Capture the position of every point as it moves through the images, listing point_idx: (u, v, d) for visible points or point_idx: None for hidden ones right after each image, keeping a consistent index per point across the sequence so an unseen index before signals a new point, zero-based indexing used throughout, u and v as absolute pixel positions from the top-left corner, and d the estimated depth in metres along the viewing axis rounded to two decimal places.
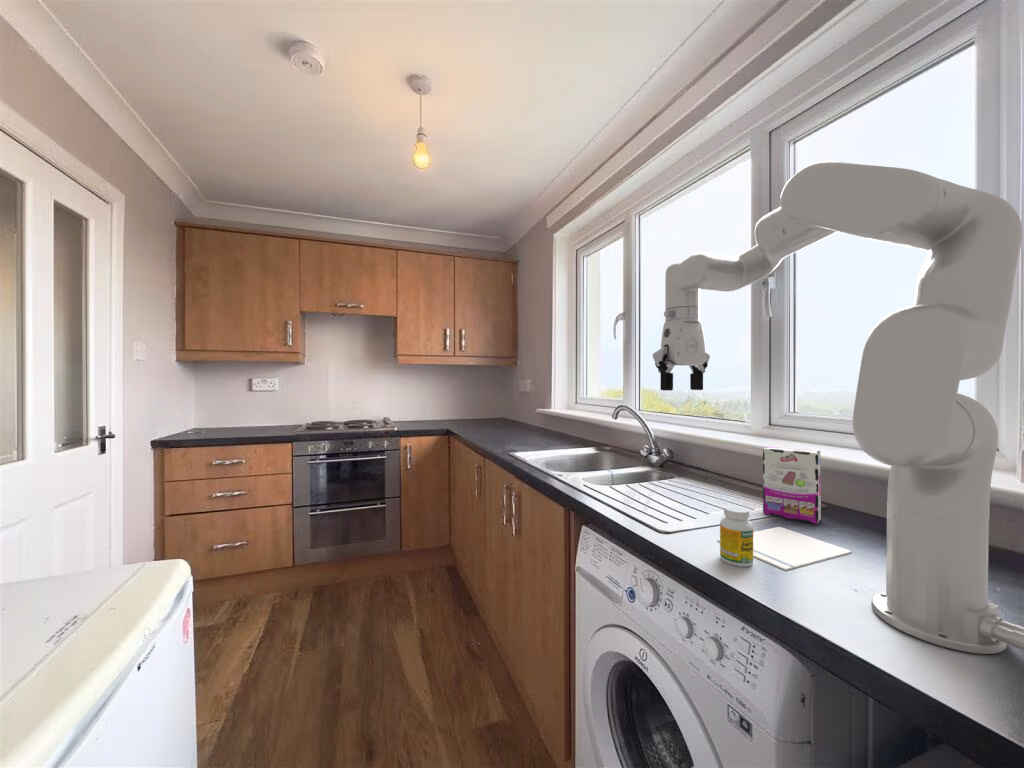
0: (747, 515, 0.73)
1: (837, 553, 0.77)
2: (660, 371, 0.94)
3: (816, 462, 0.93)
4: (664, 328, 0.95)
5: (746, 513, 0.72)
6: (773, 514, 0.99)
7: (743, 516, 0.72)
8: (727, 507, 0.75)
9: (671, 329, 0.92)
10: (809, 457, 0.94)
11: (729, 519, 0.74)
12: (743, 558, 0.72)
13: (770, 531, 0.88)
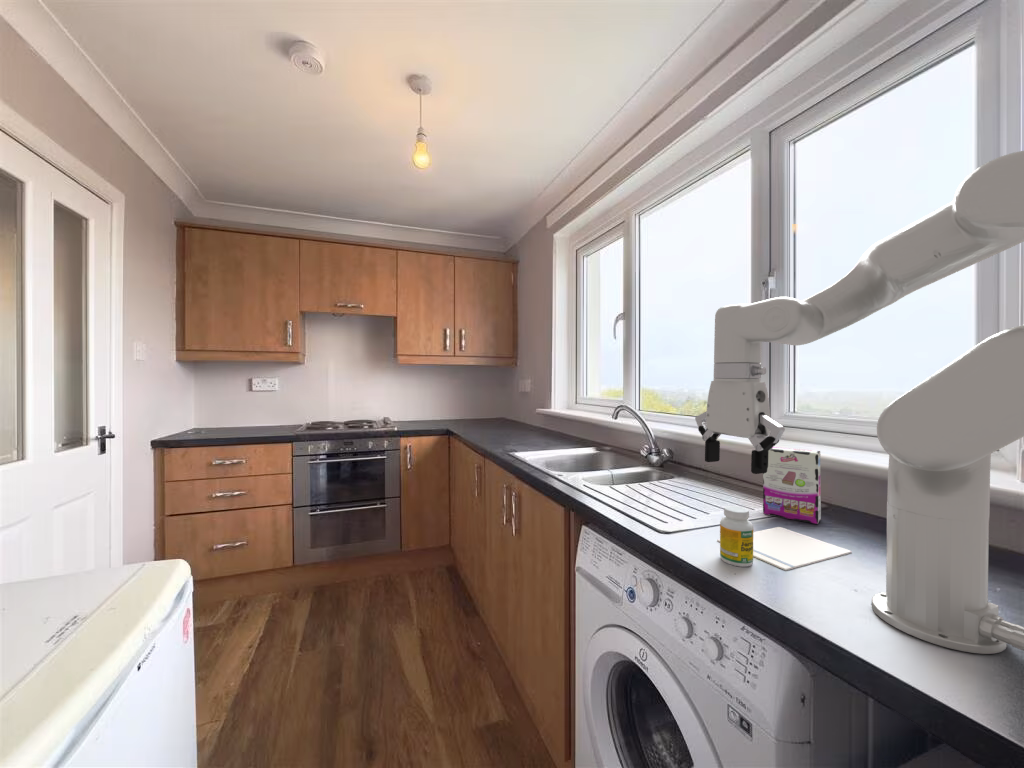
0: (747, 515, 0.73)
1: (837, 553, 0.77)
2: (764, 449, 0.69)
3: (816, 462, 0.93)
4: (754, 389, 0.70)
5: (746, 513, 0.72)
6: (773, 514, 0.99)
7: (743, 516, 0.72)
8: (727, 507, 0.75)
9: (765, 392, 0.70)
10: (809, 457, 0.94)
11: (729, 519, 0.74)
12: (743, 558, 0.72)
13: (770, 531, 0.88)
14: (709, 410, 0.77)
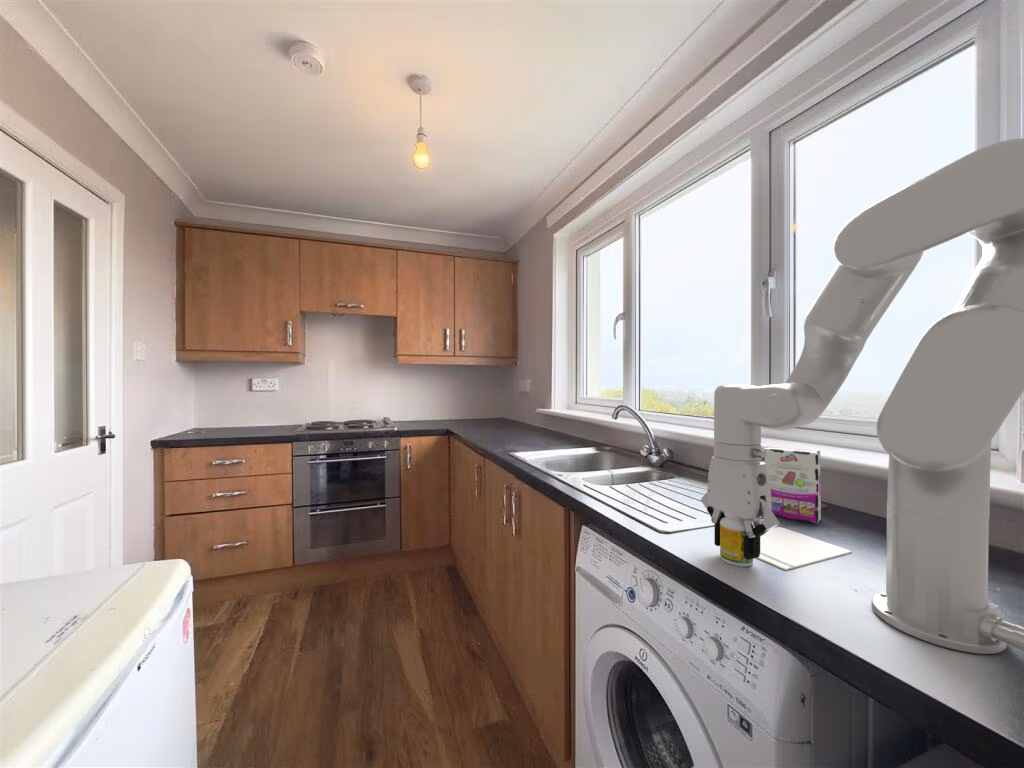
0: None
1: (837, 553, 0.77)
2: (756, 536, 0.70)
3: (816, 462, 0.93)
4: (755, 472, 0.70)
5: None
6: None
7: None
8: None
9: (766, 474, 0.70)
10: (809, 457, 0.94)
11: (729, 519, 0.74)
12: (743, 558, 0.72)
13: (770, 531, 0.88)
14: (710, 487, 0.77)
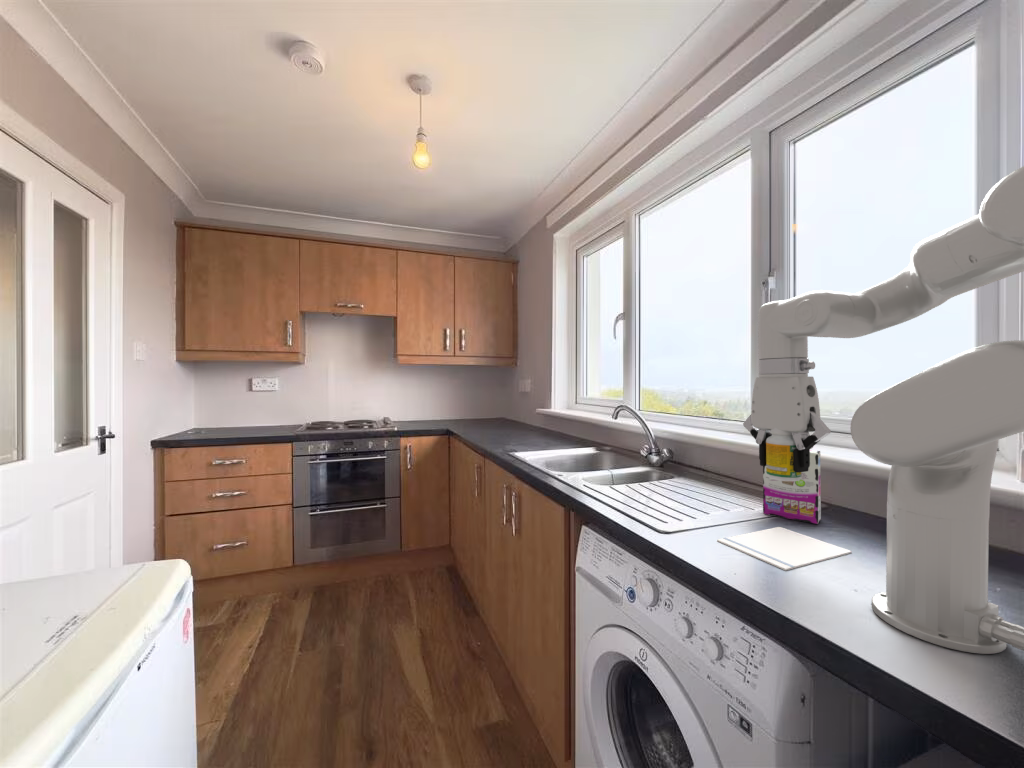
0: None
1: (837, 553, 0.77)
2: (806, 448, 0.70)
3: (816, 462, 0.93)
4: (804, 384, 0.70)
5: None
6: (773, 514, 0.99)
7: None
8: None
9: (814, 387, 0.71)
10: None
11: (776, 435, 0.74)
12: (792, 472, 0.72)
13: (770, 531, 0.88)
14: (755, 407, 0.77)
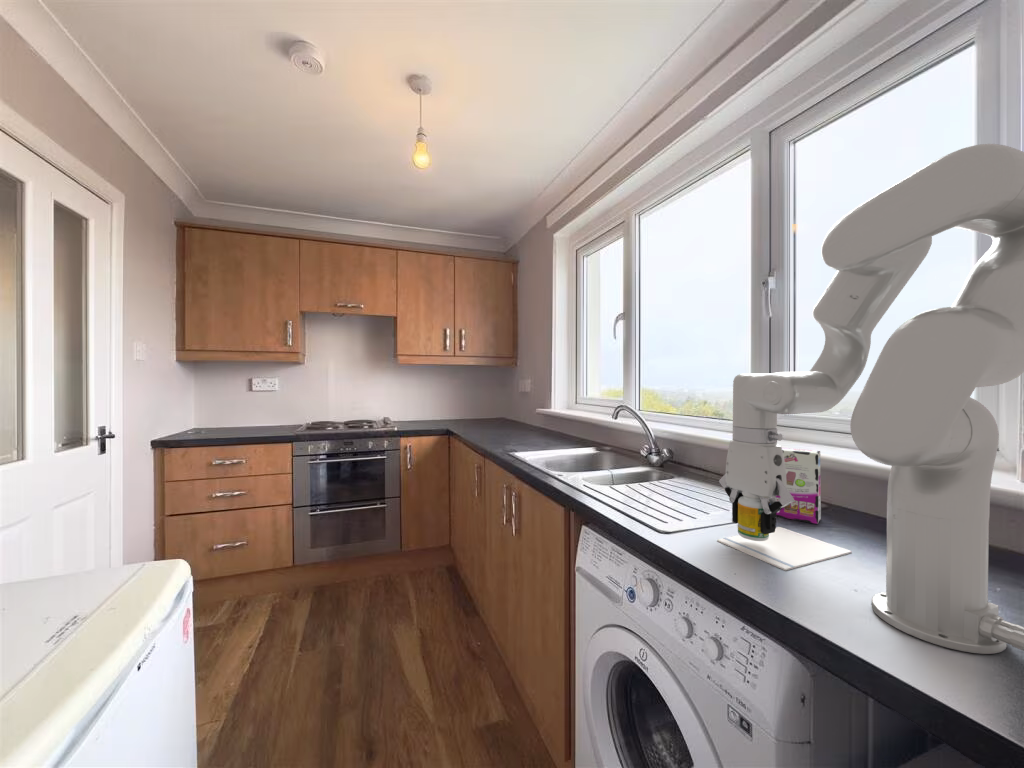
0: None
1: (837, 553, 0.77)
2: (772, 512, 0.76)
3: (816, 462, 0.93)
4: (772, 454, 0.76)
5: None
6: None
7: None
8: None
9: (781, 456, 0.76)
10: (809, 457, 0.94)
11: (747, 497, 0.80)
12: (760, 533, 0.78)
13: None
14: (729, 468, 0.83)
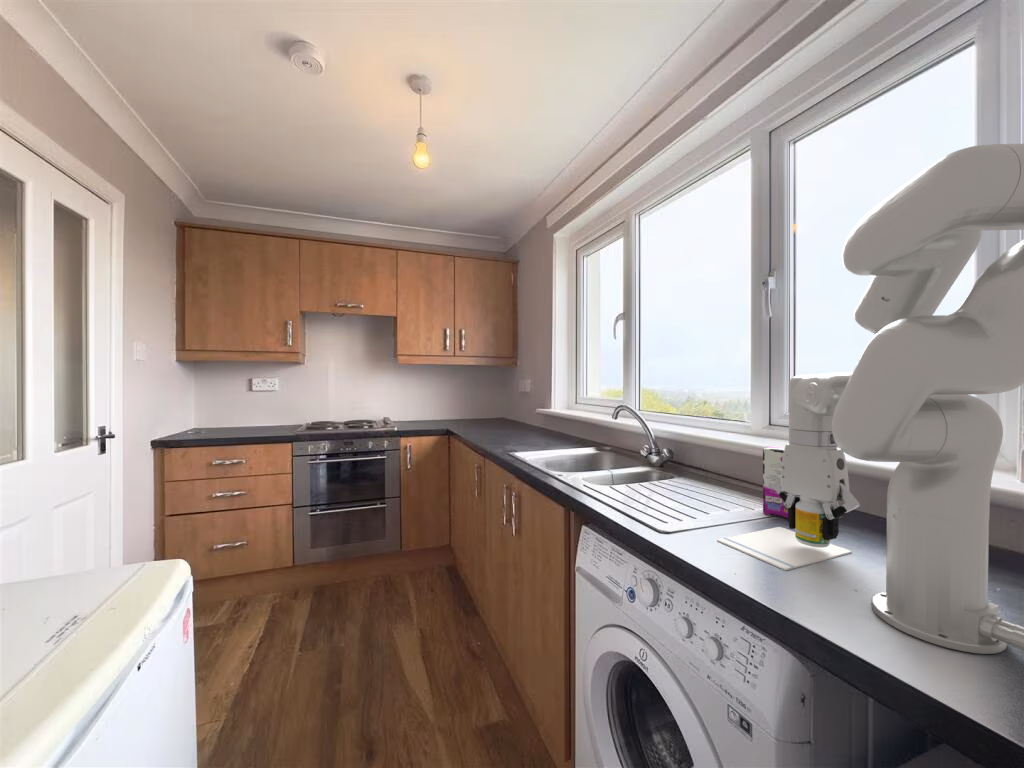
0: None
1: (837, 553, 0.77)
2: (835, 518, 0.74)
3: None
4: (834, 457, 0.74)
5: None
6: (773, 514, 0.99)
7: None
8: None
9: (844, 459, 0.74)
10: None
11: (806, 502, 0.77)
12: (821, 539, 0.76)
13: (770, 531, 0.88)
14: (785, 472, 0.81)
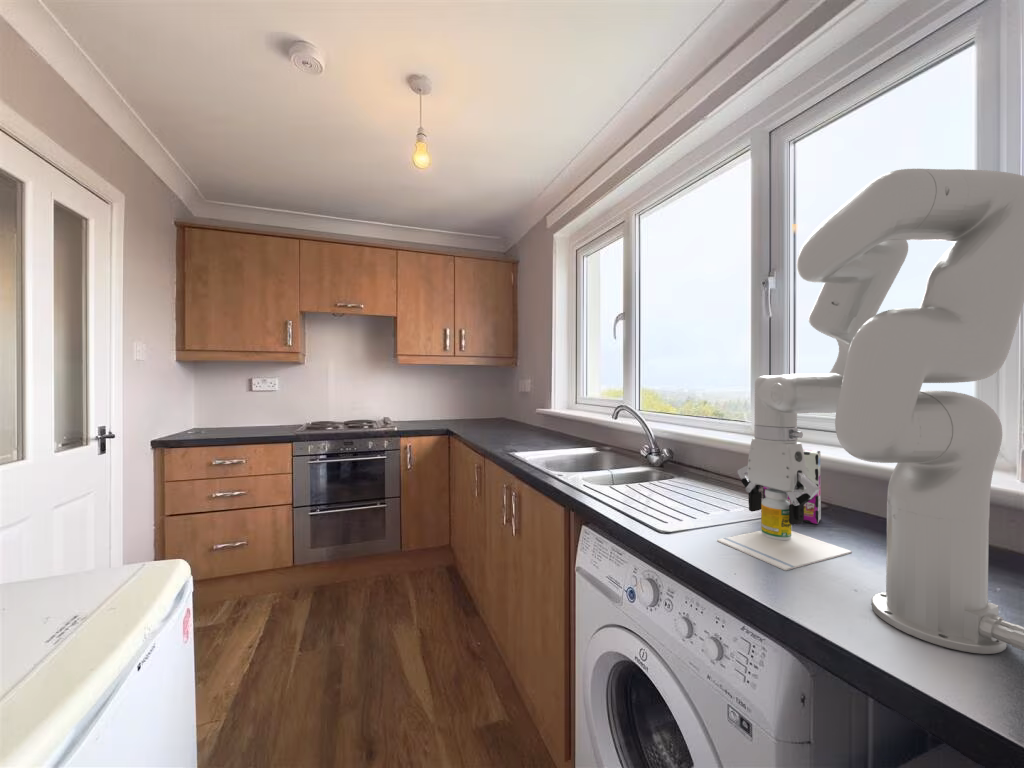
0: (786, 495, 0.84)
1: (837, 553, 0.77)
2: (800, 504, 0.80)
3: (816, 462, 0.93)
4: (793, 450, 0.81)
5: (785, 494, 0.83)
6: None
7: (782, 496, 0.83)
8: (767, 489, 0.86)
9: (802, 452, 0.82)
10: (809, 457, 0.94)
11: (770, 499, 0.85)
12: (783, 532, 0.83)
13: None
14: (751, 465, 0.88)
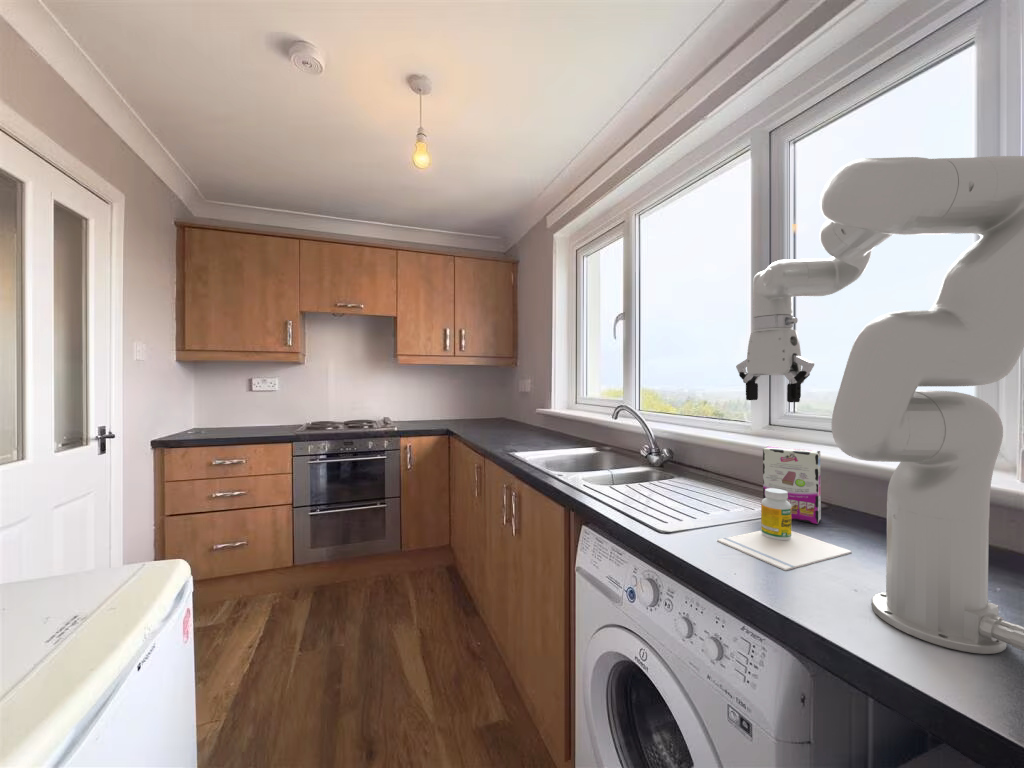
0: (786, 495, 0.84)
1: (837, 553, 0.77)
2: (797, 382, 0.86)
3: (816, 462, 0.93)
4: (788, 335, 0.88)
5: (785, 494, 0.83)
6: None
7: (782, 496, 0.83)
8: (767, 489, 0.86)
9: (797, 338, 0.88)
10: (809, 457, 0.94)
11: (770, 499, 0.85)
12: (783, 532, 0.83)
13: None
14: (749, 357, 0.95)
